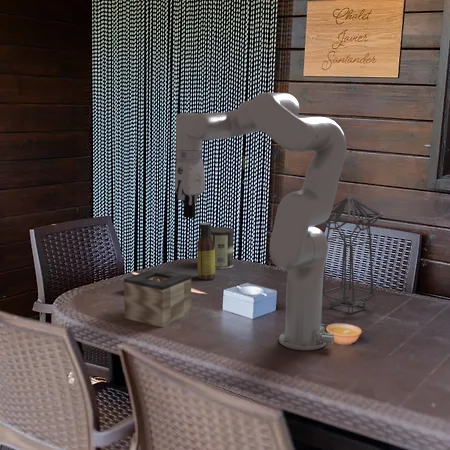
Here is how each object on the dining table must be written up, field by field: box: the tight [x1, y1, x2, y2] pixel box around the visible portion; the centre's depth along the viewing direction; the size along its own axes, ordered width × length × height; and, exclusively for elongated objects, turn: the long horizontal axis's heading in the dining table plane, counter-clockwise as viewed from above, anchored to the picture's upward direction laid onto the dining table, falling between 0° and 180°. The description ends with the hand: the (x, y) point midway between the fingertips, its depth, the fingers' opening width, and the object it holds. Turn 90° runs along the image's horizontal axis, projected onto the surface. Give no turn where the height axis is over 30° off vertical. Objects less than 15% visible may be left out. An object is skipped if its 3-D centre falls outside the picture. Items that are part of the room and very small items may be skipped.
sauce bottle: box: [196, 221, 216, 281], centre depth 243 cm, size 6×6×20 cm
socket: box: [123, 268, 192, 328], centre depth 203 cm, size 14×14×12 cm
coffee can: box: [210, 226, 235, 270], centre depth 260 cm, size 10×10×14 cm
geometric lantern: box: [322, 196, 384, 315], centre depth 211 cm, size 16×16×35 cm
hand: (189, 217), depth 205 cm, fingers closed
